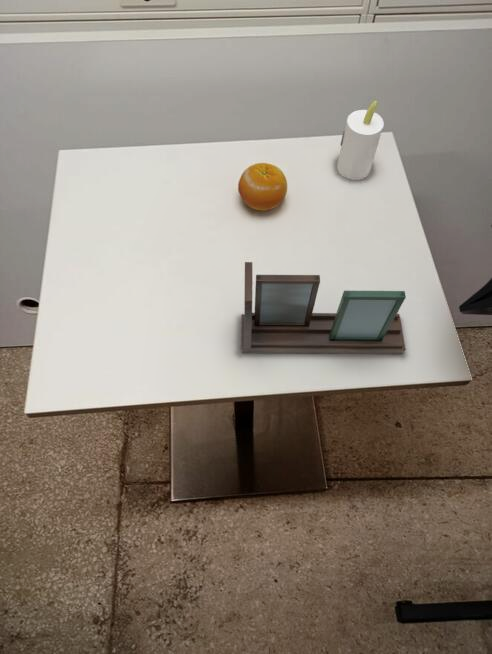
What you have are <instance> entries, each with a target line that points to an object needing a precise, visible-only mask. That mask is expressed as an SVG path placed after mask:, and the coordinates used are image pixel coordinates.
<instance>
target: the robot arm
mask: <svg viewBox="0 0 492 654" xmlns="http://www.w3.org/2000/svg"><path fill="white" fill-rule="evenodd" d="M490 226H491V227H492V224H491V225H490ZM458 310H459V313H461V314H462V315H474V316H475V315H476V316H477V315H478V316H492V277H491V278H490V279H489V280H488V281H487V282H486V283H485V284H484V285H483V286H482V287H481V288H479V289H478V290H477V291H476V292H475V293H474V294H473V295H471V296H470V297H468V298H467V299H466V300H465V301H463V303H461V304H460V305H459V306H458Z"/></svg>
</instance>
